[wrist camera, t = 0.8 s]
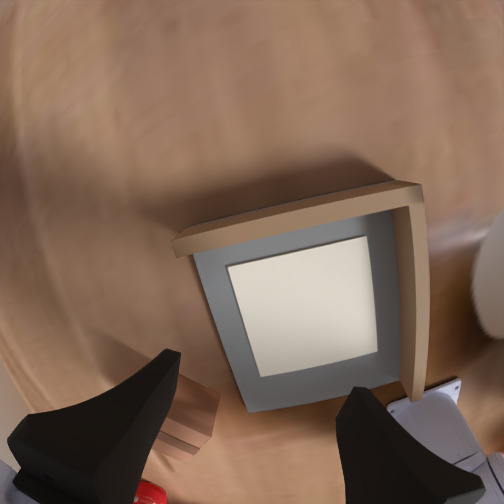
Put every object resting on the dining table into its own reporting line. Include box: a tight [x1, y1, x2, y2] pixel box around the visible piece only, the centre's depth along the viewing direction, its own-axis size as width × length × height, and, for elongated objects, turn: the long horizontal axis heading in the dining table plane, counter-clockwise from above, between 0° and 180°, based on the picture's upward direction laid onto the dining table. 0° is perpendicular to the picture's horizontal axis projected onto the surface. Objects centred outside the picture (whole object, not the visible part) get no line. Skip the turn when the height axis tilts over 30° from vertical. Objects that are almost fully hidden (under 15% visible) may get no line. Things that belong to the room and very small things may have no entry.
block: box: [152, 373, 220, 463], centre depth 22 cm, size 5×5×5 cm
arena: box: [171, 180, 430, 413], centre depth 19 cm, size 16×14×4 cm
